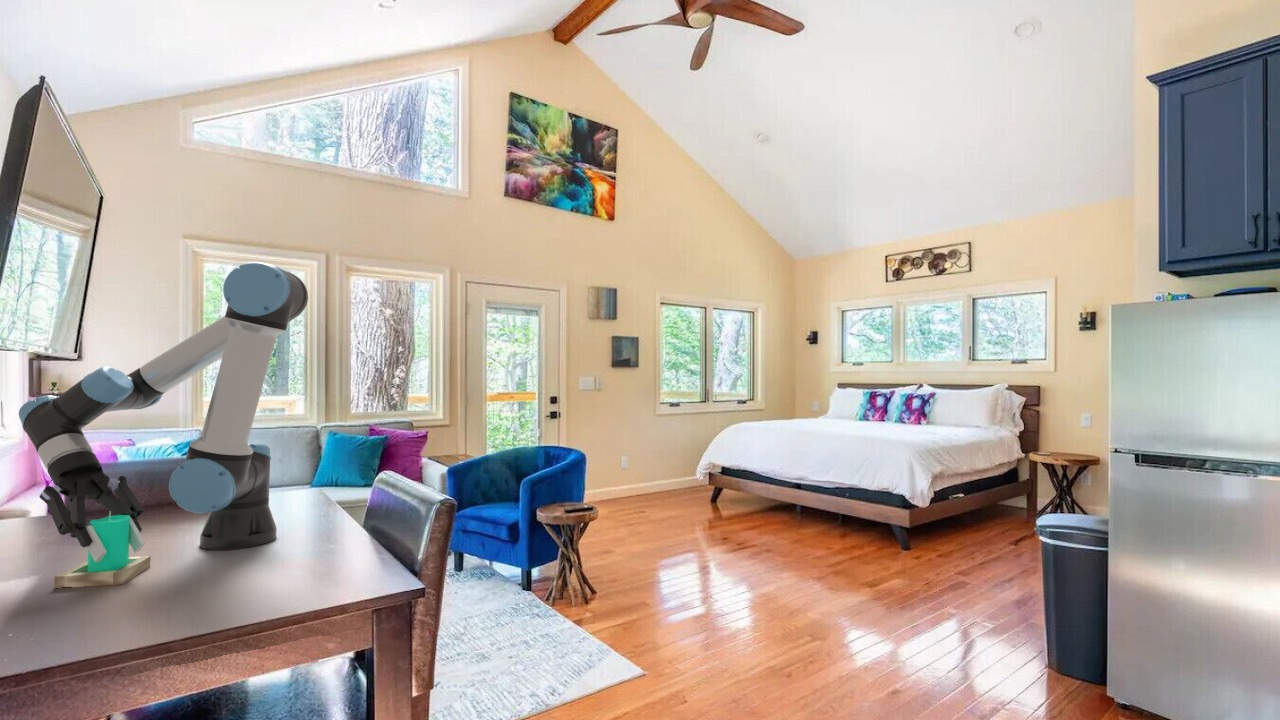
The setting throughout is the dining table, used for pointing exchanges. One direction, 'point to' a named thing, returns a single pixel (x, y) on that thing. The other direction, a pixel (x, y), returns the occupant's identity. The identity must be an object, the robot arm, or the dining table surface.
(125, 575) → the holder collar
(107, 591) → the dining table surface
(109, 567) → the candle
